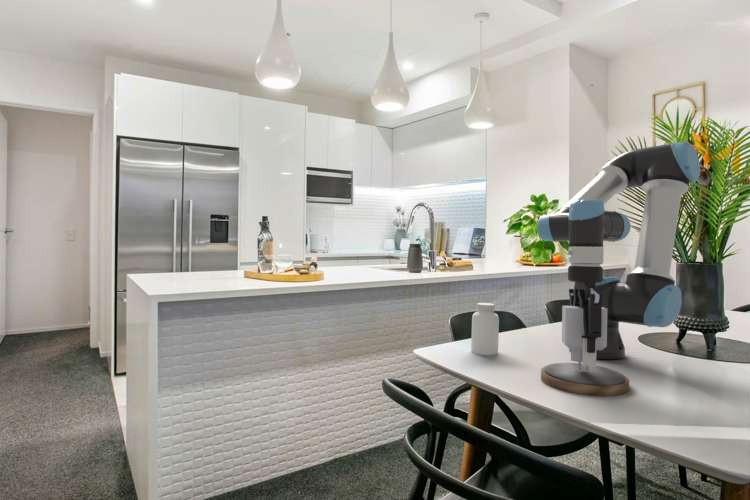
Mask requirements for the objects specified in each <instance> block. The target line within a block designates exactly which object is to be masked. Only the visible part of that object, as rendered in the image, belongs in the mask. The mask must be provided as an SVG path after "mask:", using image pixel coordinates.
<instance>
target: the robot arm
mask: <svg viewBox="0 0 750 500" xmlns="http://www.w3.org/2000/svg"><path fill="white" fill-rule="evenodd" d="M700 164H701V163H700V159H699V156H698V153H697V150H696V148H695V147H694V145H693V144H691V143H690V142H687V141H682V142H681V141H680V142H671V143H668V144H667V143H666V144H661V145H655V146H648V147H642V148H635V149H631V150H629V151H626V152H623V153H621V154H620V155H617V156H616V157H615V158H613V159H610V161H608V162H607V163H605V164H604V165H603V166H602V167H600V169H598V171H597V172H596V174H595V178H593V179H591V181H590V182H589V183H588V184H586V186H585V187H583V188H582V189H581V190H580V191H579V192H578V193H576V194H575V195H574V196H573V197H572V198H571V199H570V200H568V202H567V203H565V204H564V205H563V206H562V207H561V208H560V209H559V210H558V211H556V212H555V213H553V214H552V213H548V214H543V215H541V216H540V217H539V218H538V219H537V224H536V231H537V234H538V237H539V238H540V239H541V240H542V241H544V242H545V241H546V242H554V243H555V242H568V250H567V251H566V255H567V256H568V259H567V261H568V263H569V264H570V265H569V266H568V267H567V280H568V281H569V282H573V283H574V286H573V288H569V289H568V295H569V306H580V308H582V309H583V322H584V333H585V336H582V338H583V357H582V362H581V364H582V366H591V367H596V366H597V363H596V362H597V359H600V360H601V359H602V360H617V359H624V358H625V357H626V348H625V345H624V342H623V337H622V336H621V333H620V332H621V331H620V328H619V327H620V326H619V325H620V323H624V324H630V325H631V324H632V325H640V326H646V327H649V328H652V327H655V328H667V327H669V326H671V325H672V324H673V323H674V322H675V321H676V319H677V318H678V316H679V314H680V311H681V307H682V303H683V302H682V301H683V299H682V295H683V294H682V291H681V289H680V287H678V286H677V285H675V284H676V280H675V279H674V278H673V277H672V276H671V274H670V273H671V267H672V266H671V265H672V261H673V260H672V259H673V253H674V246H675V239H676V232H677V226H678V221H679V220H678V219H679V214H680V213H679V211H680V206H681V201H682V200H681V199H682V195H684V194H686V193H687V192H688V191H689V190H690V189H689V187H690V183H694V182H697V181H698V180H699V178H700V176H701V165H700ZM639 187H641V189H642V191H644V193H646V194H645V201H644V207H643V212H642V219H641V225H640V231H639V237H638V243H637V249H636V256H635V263H634V267H633V268H634V269H632V271H630V272H628V273H627V274H626V278H625V281H621V279H620V277H619V276H608V277H607V276H605V277H604V268H603V266H601V265H603V264H604V248H605V247H604V242H609V243H611V242H612V243H614V242H619V241H622V240H624V239H625V238H626V237H628V235H629V234H630V232H631V228H632V225H631V221H630V219H629V218H628V216H626V214H623V213H622V212H618V211H616V210H612V211H611V210H605V205H606V203H607V202H609V201H610V200H611V199H612V198H613V197H614V196H615V195H618V194H621V193H622V192H624V191H625V190H627V189H632V188H639ZM602 307H604V308H606V309H607V347H606V348H604V349H603V350H597V352H596V339H597V338H598V337H601V325H602ZM568 350H569V352H570V353H571V349H569V348H568Z"/></svg>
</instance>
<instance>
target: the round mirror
mask: <svg viewBox="0 0 750 500" xmlns="http://www.w3.org/2000/svg"><path fill="white" fill-rule="evenodd" d="M540 380H541V382H542V383H544V384H546V386H549V387H552V388H553V389H557V390H559V391H563V392H567V393H568V392H569V393H572V394H577V395H585V396H595V397H615V396H621V395H625V394H627V393H628V392H630V379H629V377H627V376H626V375H625V374H623V373H621V372H619V371H617V370H614V369H612V368H607V367H603V366H599V365H596V367H591V366H588V370H586V366H582V363H581V370H579V369H578V362H577V363H576V362H557V363H550V364H547V365H545V366H543V367H541V369H540Z"/></svg>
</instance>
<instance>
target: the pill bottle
mask: <svg viewBox="0 0 750 500" xmlns="http://www.w3.org/2000/svg"><path fill="white" fill-rule="evenodd" d="M495 309H496V305H495V303H490V302H478V303H476V311H475V312H474V313H473V314H472V317H471V339H470V341H471V343H470V344H471V345H470V346H471V347H470V349H471V353H473V354H476V355H480V356H496V355H498V354H499V335H500V333H499V331H500V329H499V327H500V316H499V315H498V314H497V313H496V311H495Z"/></svg>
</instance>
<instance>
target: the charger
mask: <svg viewBox="0 0 750 500" xmlns="http://www.w3.org/2000/svg"><path fill="white" fill-rule="evenodd" d="M561 309H562V310H561V317H562V318H561V343H563V345H565V346H566V347H567V348H568V350H569V349H571V352H570V361H572V362H575V363H576V362H577V363H578V369H579V370H581V364H582V357H583V338H582V336H585V333H584V322H583V309H582V308H580V306H570V305H562V307H561ZM606 347H607V309H606V308H604V307H602V325H601V337H598V338H597V339H596V352H597V350H603V349H604V348H606ZM586 370H588V366H586Z"/></svg>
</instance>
